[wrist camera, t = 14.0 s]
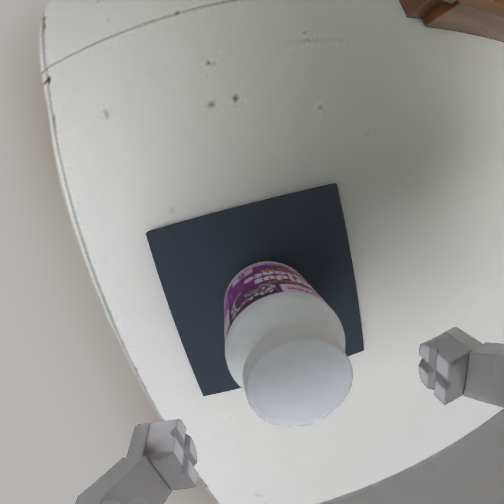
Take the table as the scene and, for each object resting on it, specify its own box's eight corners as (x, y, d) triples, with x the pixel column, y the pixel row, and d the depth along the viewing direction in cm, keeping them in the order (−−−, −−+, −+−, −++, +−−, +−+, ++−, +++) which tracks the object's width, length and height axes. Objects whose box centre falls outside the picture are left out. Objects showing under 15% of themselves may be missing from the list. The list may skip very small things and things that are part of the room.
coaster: (147, 231, 19) (145, 233, 18) (333, 183, 19) (336, 183, 19) (203, 392, 21) (203, 396, 21) (361, 347, 22) (364, 350, 21)
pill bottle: (301, 251, 20) (371, 303, 10) (312, 328, 21) (371, 418, 11) (214, 268, 19) (211, 340, 10) (232, 345, 20) (242, 451, 11)
